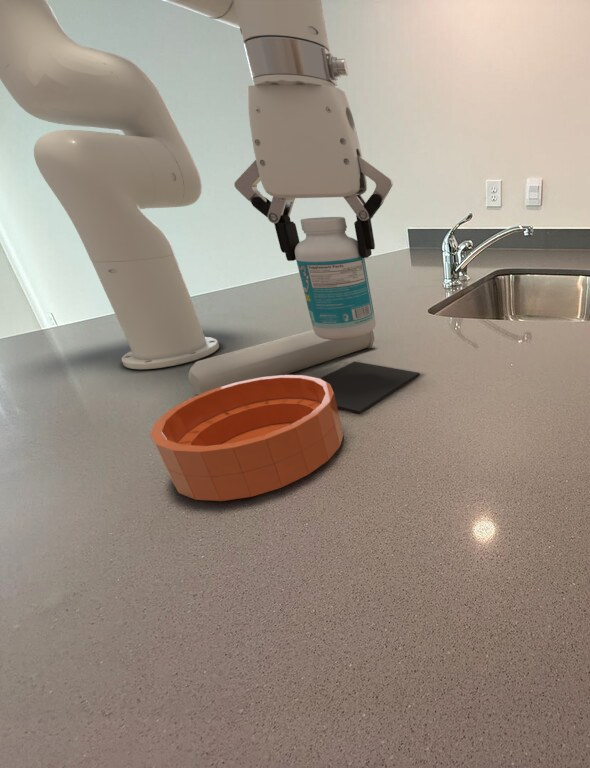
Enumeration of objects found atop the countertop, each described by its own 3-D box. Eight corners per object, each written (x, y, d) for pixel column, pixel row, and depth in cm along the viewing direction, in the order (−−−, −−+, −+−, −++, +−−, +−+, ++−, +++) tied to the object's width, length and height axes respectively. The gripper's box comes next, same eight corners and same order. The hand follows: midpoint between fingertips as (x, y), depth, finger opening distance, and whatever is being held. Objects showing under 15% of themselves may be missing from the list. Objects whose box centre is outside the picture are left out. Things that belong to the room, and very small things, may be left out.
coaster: (287, 397, 52) (286, 394, 52) (354, 363, 62) (354, 361, 62) (360, 414, 48) (359, 411, 48) (419, 375, 58) (419, 372, 57)
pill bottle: (326, 325, 55) (302, 217, 49) (381, 322, 55) (364, 215, 50) (305, 343, 48) (274, 221, 42) (369, 340, 49) (347, 219, 43)
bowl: (139, 480, 37) (113, 429, 35) (278, 408, 49) (265, 367, 47) (246, 525, 32) (224, 468, 30) (373, 432, 44) (364, 387, 42)
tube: (194, 379, 48) (375, 325, 66) (175, 356, 50) (355, 310, 68) (204, 412, 51) (374, 352, 69) (186, 389, 53) (355, 337, 71)
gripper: (388, 82, 44) (409, 251, 52) (220, 82, 43) (267, 256, 50) (375, 62, 38) (402, 259, 45) (175, 61, 36) (237, 266, 44)
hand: (330, 256), depth 48 cm, fingers closed on pill bottle, 7 cm apart
